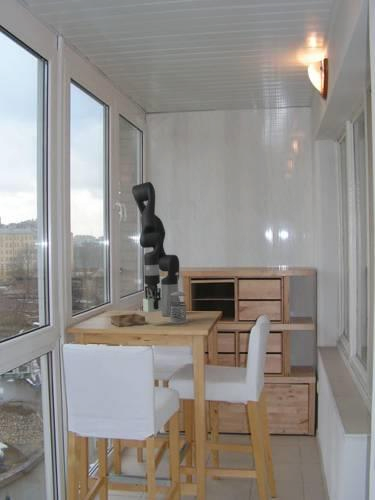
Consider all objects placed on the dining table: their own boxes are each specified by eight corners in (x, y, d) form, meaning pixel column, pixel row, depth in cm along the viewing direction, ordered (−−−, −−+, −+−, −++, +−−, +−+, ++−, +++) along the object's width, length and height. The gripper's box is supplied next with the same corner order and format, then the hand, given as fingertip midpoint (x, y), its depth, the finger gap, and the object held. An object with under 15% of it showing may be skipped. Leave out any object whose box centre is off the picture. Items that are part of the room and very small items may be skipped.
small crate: (158, 309, 271) (157, 297, 271) (163, 310, 266) (162, 298, 265) (143, 311, 267) (142, 298, 267) (148, 312, 262) (147, 300, 262)
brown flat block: (135, 321, 282) (135, 313, 282) (145, 324, 271) (144, 316, 271) (111, 323, 276) (110, 315, 276) (119, 327, 265) (119, 318, 265)
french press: (186, 323, 272) (185, 273, 272) (163, 323, 274) (162, 273, 274) (190, 320, 282) (188, 271, 281) (168, 319, 284) (166, 271, 283)
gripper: (165, 274, 261) (166, 309, 262) (152, 272, 274) (154, 306, 274) (150, 275, 258) (152, 311, 258) (139, 273, 270) (140, 307, 271)
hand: (153, 308), depth 266 cm, fingers closed on small crate, 6 cm apart
